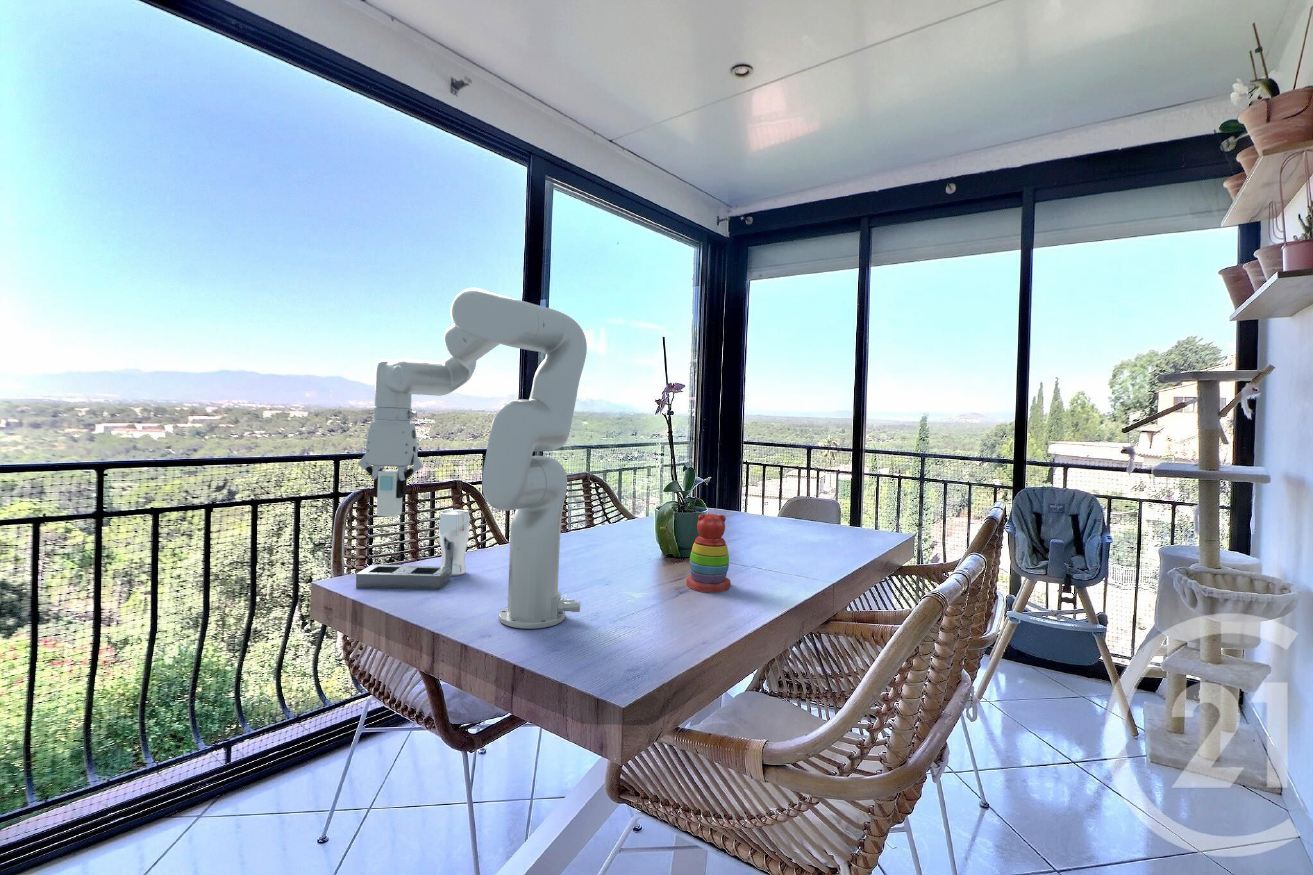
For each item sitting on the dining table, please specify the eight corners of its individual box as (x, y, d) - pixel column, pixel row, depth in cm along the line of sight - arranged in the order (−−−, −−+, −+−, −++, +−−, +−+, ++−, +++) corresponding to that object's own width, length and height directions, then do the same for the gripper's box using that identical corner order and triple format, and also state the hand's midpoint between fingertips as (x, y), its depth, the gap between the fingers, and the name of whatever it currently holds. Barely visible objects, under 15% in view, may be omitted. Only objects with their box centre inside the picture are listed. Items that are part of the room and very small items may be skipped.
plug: (401, 513, 137) (403, 470, 137) (393, 517, 132) (395, 472, 132) (384, 512, 137) (385, 469, 136) (375, 516, 132) (376, 471, 132)
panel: (449, 579, 140) (450, 566, 140) (439, 589, 132) (439, 576, 132) (371, 577, 139) (371, 564, 139) (355, 587, 131) (356, 573, 131)
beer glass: (462, 577, 142) (464, 514, 142) (433, 575, 142) (435, 513, 142) (471, 569, 149) (473, 510, 149) (444, 568, 149) (446, 509, 149)
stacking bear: (730, 583, 148) (733, 511, 147) (731, 595, 138) (735, 518, 137) (686, 580, 149) (690, 509, 148) (684, 591, 139) (688, 515, 138)
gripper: (435, 417, 138) (432, 496, 139) (362, 413, 137) (359, 492, 138) (424, 418, 131) (421, 501, 131) (346, 413, 130) (343, 497, 131)
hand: (389, 496), depth 135 cm, fingers closed on plug, 4 cm apart
